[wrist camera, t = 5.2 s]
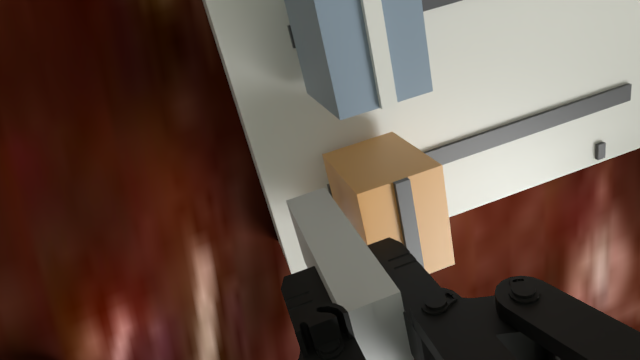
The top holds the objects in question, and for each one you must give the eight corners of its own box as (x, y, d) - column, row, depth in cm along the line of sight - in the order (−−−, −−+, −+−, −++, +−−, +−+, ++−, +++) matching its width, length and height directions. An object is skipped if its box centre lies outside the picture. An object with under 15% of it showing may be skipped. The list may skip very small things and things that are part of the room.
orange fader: (342, 238, 20) (380, 296, 16) (322, 154, 18) (359, 197, 14) (406, 215, 20) (457, 267, 17) (392, 131, 19) (445, 167, 15)
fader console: (278, 241, 23) (292, 277, 20) (189, -39, 18) (191, -45, 15) (600, 128, 26) (652, 145, 23) (610, -143, 21) (679, -164, 18)
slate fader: (306, 93, 17) (342, 121, 13) (278, -23, 15) (310, -27, 12) (381, 70, 18) (436, 92, 14) (362, -45, 16) (418, -55, 12)
